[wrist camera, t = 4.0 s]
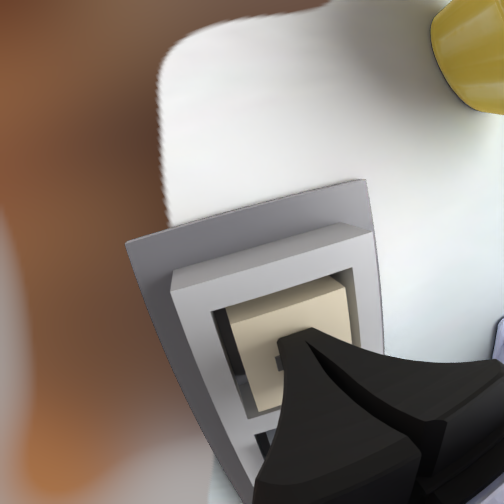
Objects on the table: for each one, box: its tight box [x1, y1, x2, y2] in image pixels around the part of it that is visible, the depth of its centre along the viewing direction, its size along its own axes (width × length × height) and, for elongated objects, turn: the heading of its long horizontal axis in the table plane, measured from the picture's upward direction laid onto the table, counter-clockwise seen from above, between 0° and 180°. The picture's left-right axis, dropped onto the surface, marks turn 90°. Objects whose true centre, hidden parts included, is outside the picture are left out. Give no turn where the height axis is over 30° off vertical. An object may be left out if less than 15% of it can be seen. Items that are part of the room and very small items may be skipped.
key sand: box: [225, 275, 352, 412], centre depth 12 cm, size 4×4×3 cm
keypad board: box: [125, 179, 385, 504], centre depth 15 cm, size 10×28×3 cm, turn 14°
